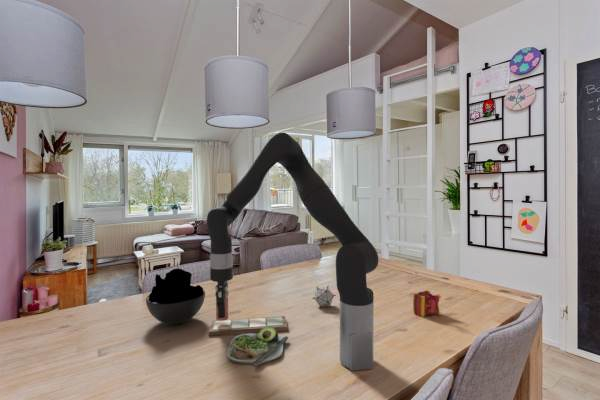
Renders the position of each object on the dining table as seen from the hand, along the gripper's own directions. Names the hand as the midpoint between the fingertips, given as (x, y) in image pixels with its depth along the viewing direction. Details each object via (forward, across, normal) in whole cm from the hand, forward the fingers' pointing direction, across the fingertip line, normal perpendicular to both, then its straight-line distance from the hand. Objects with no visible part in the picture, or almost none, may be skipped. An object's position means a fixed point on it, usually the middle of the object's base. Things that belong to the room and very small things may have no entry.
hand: (222, 314), depth 113 cm
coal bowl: (+5, +9, +17) cm, 20 cm away
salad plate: (+6, -16, -12) cm, 20 cm away
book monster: (+5, 0, -76) cm, 76 cm away
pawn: (+1, 0, 0) cm, 1 cm away
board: (+5, 0, -9) cm, 10 cm away
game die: (+5, +16, -39) cm, 42 cm away
